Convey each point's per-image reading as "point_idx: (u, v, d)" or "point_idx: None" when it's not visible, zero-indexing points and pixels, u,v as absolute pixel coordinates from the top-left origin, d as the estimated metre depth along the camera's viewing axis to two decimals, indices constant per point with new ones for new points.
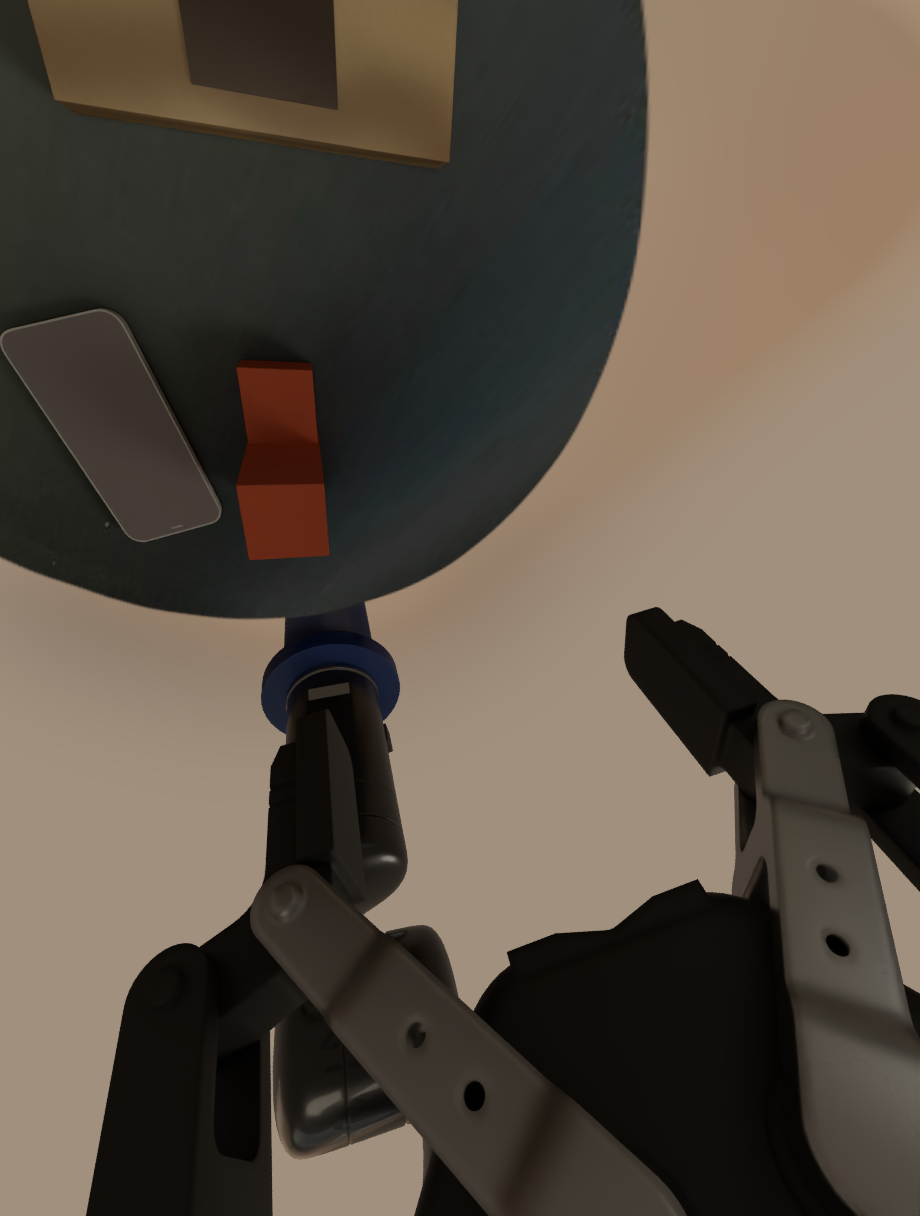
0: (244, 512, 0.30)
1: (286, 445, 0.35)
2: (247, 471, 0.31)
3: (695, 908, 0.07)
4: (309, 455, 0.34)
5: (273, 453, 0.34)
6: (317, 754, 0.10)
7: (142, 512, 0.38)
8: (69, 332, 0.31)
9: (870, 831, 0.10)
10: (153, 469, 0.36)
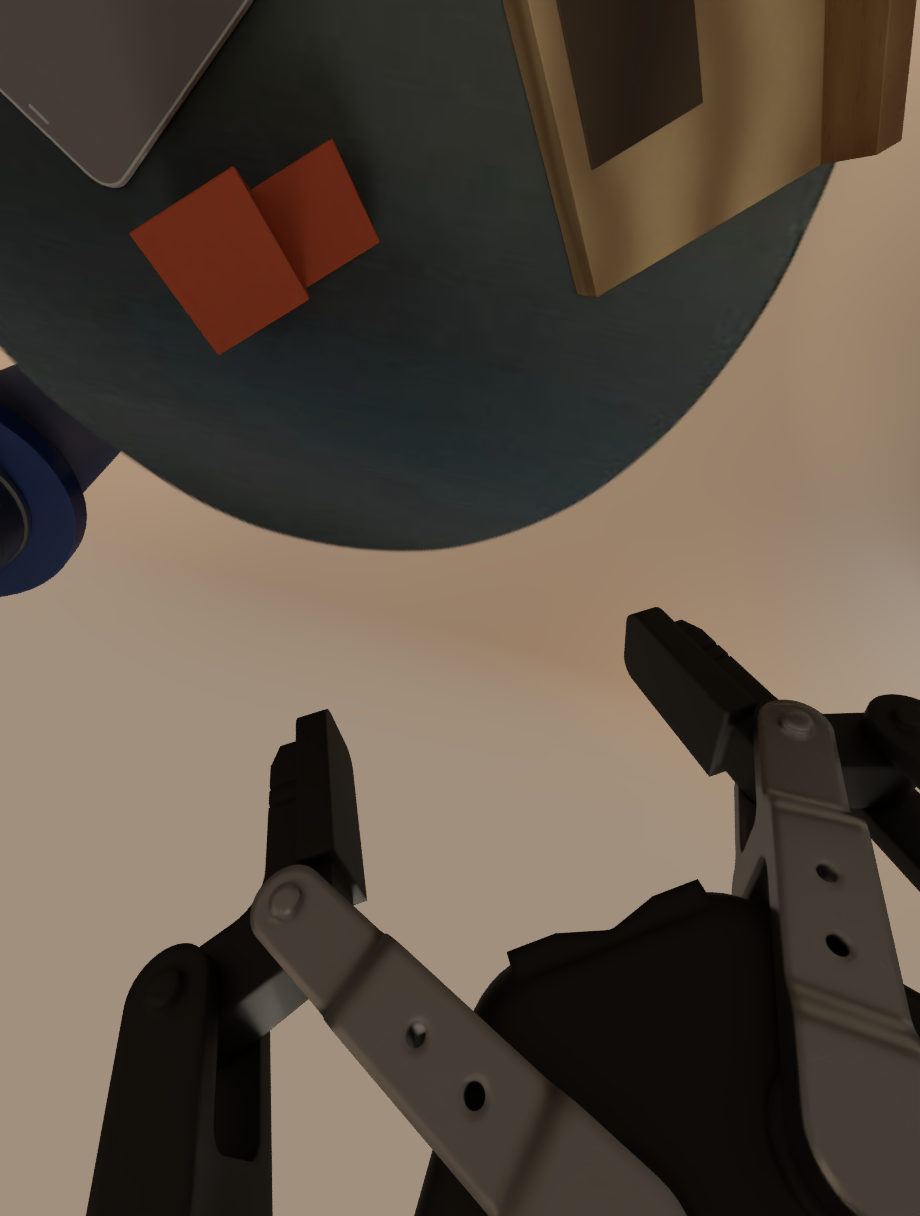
0: (200, 195, 0.20)
1: (281, 244, 0.27)
2: (246, 186, 0.21)
3: (695, 908, 0.07)
4: (299, 276, 0.26)
5: (271, 226, 0.25)
6: (317, 754, 0.10)
7: (19, 40, 0.22)
8: None
9: (870, 831, 0.10)
10: (107, 44, 0.23)
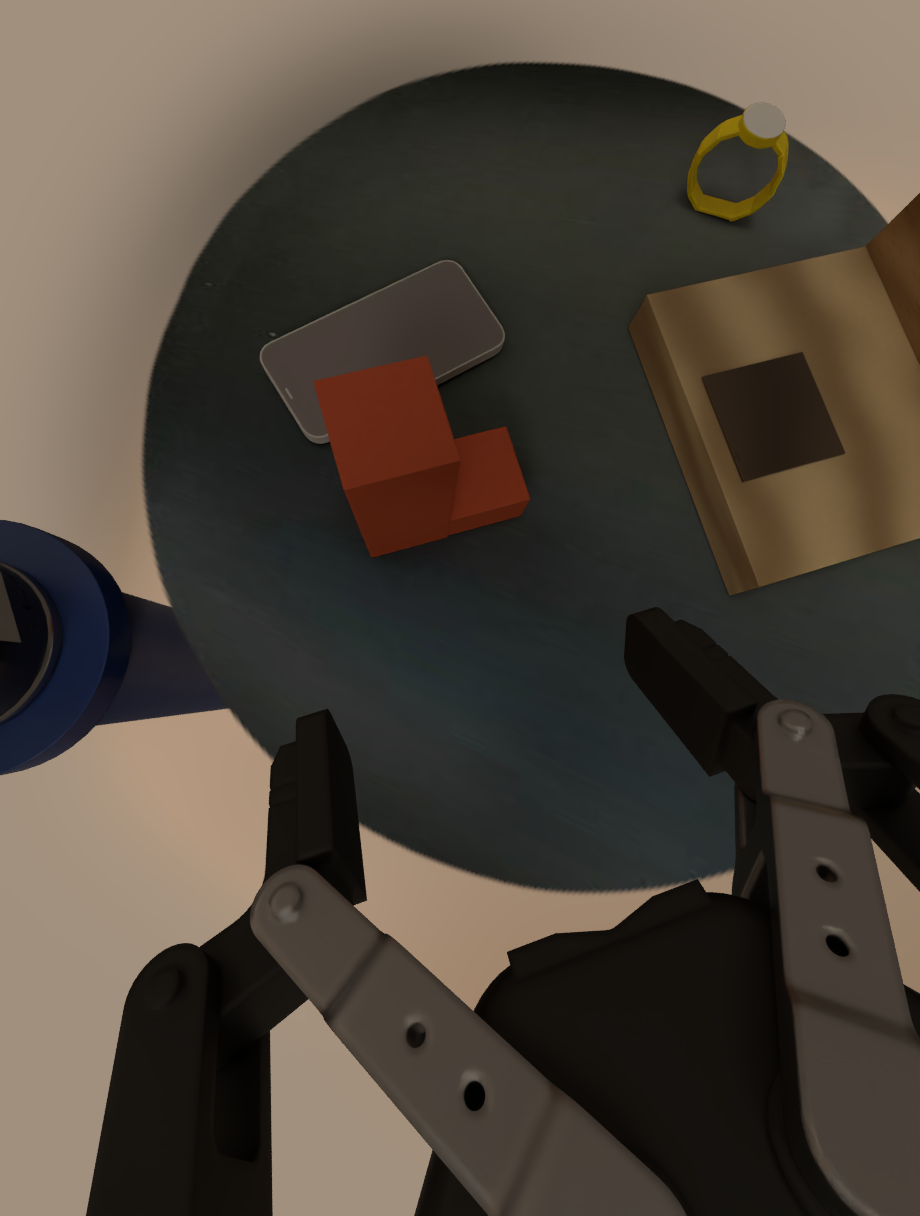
0: (390, 367, 0.21)
1: None
2: None
3: (695, 908, 0.07)
4: None
5: None
6: (317, 754, 0.10)
7: (301, 360, 0.31)
8: (475, 307, 0.33)
9: (870, 831, 0.10)
10: (358, 369, 0.32)
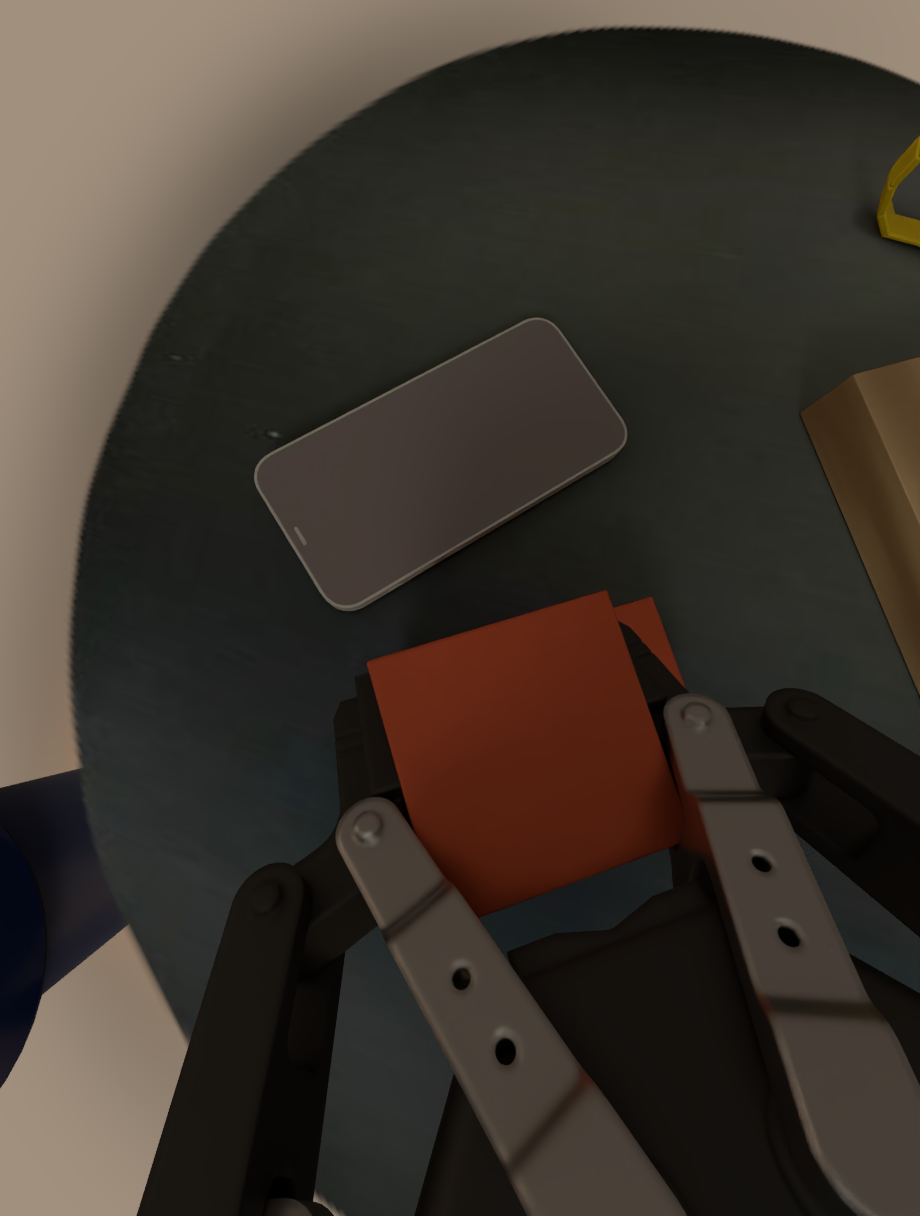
0: (531, 623, 0.10)
1: None
2: None
3: (695, 908, 0.07)
4: None
5: None
6: None
7: (319, 480, 0.20)
8: (581, 391, 0.22)
9: None
10: (407, 493, 0.20)
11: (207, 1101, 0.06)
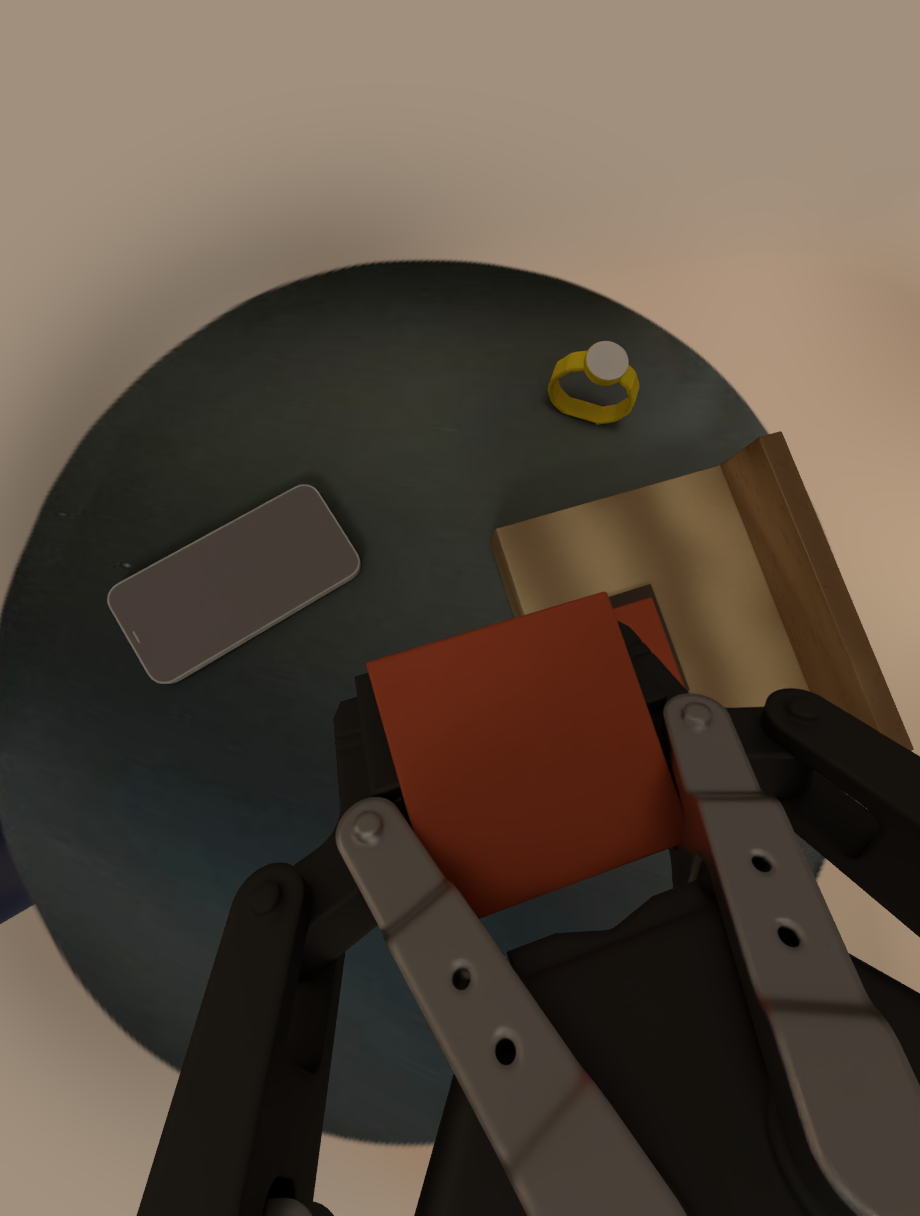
0: (530, 624, 0.10)
1: None
2: None
3: (695, 908, 0.07)
4: None
5: None
6: None
7: (150, 600, 0.31)
8: (330, 534, 0.33)
9: None
10: (208, 607, 0.32)
11: (207, 1101, 0.06)
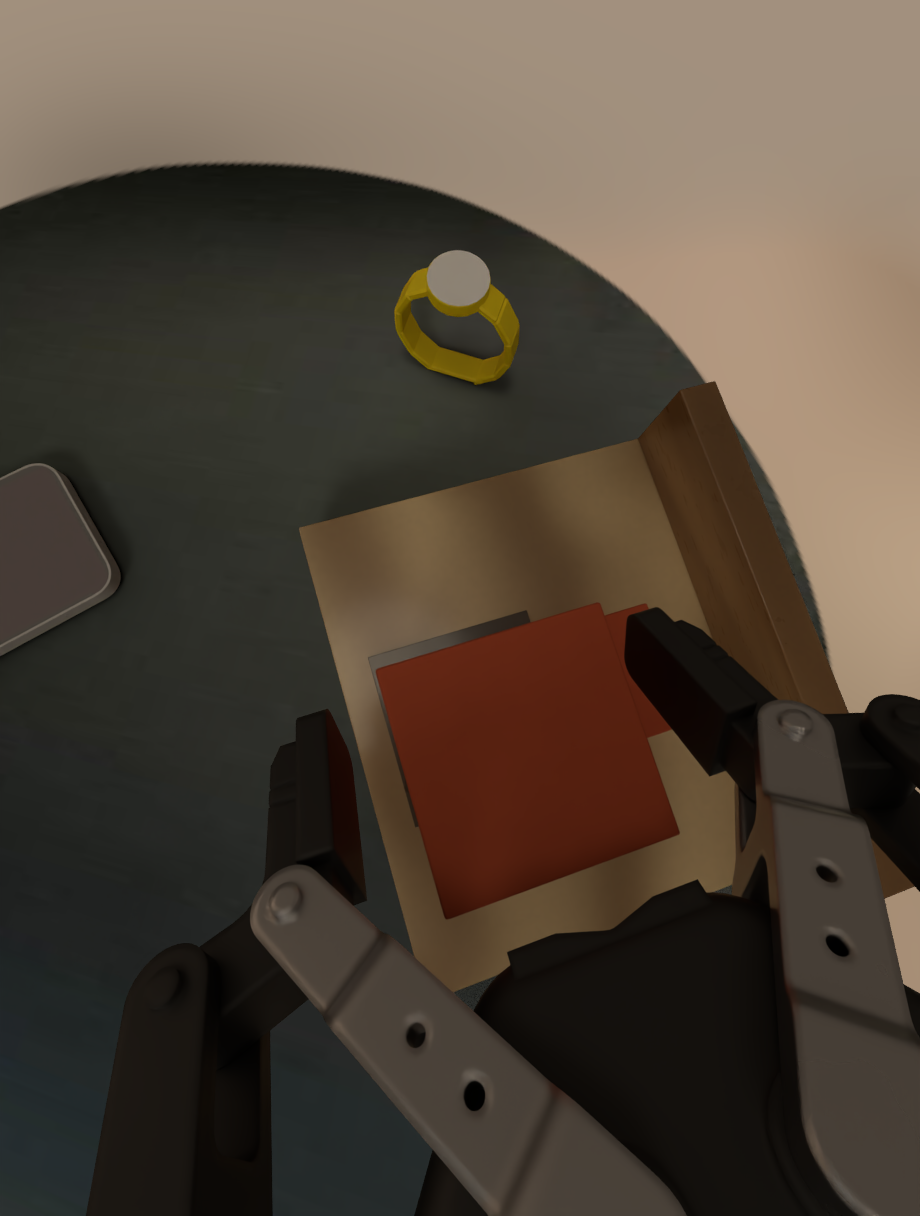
0: (529, 633, 0.10)
1: None
2: None
3: (695, 908, 0.07)
4: None
5: None
6: (317, 754, 0.10)
7: None
8: (70, 535, 0.23)
9: (870, 831, 0.10)
10: None
11: None
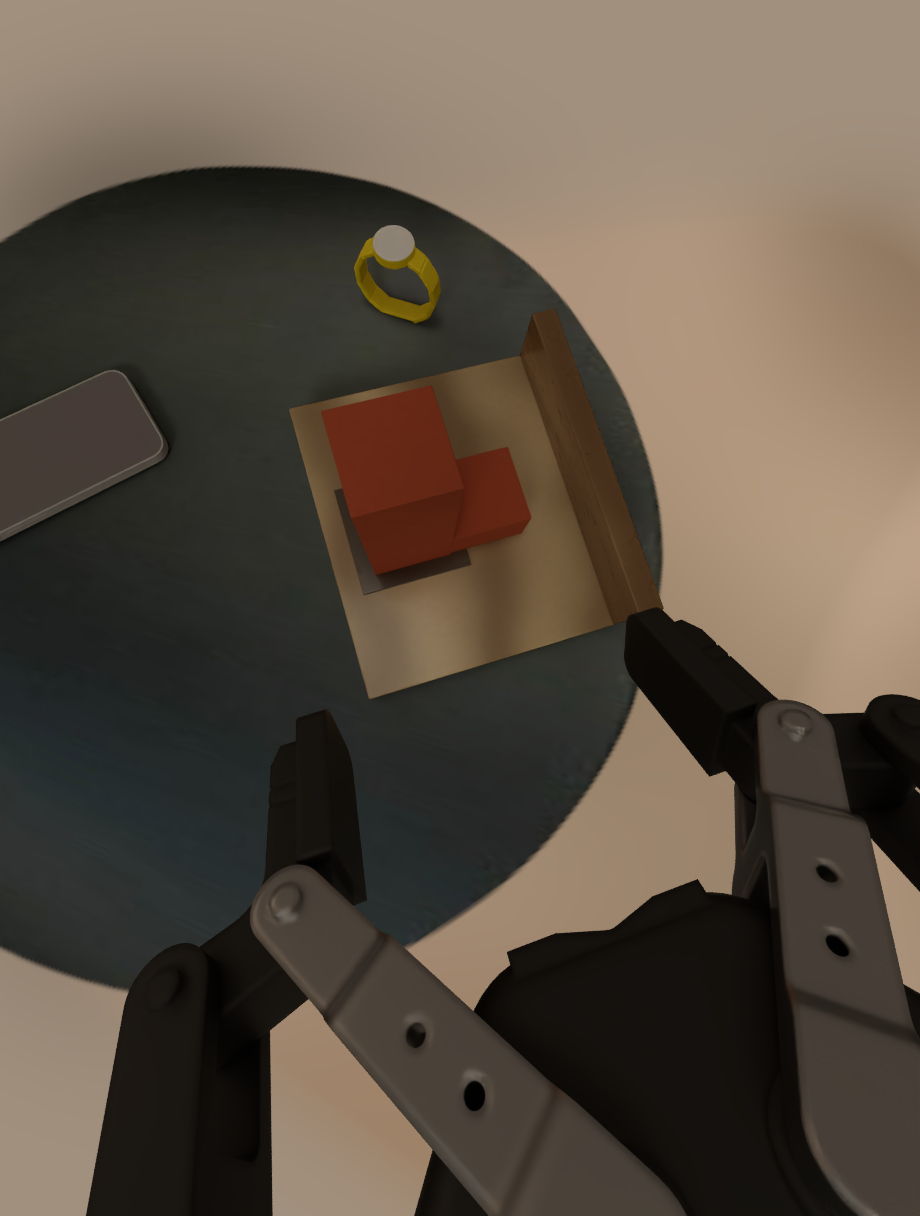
0: (395, 397, 0.21)
1: None
2: None
3: (695, 908, 0.07)
4: None
5: None
6: (317, 754, 0.10)
7: None
8: (135, 417, 0.34)
9: (870, 831, 0.10)
10: (7, 482, 0.33)
11: None
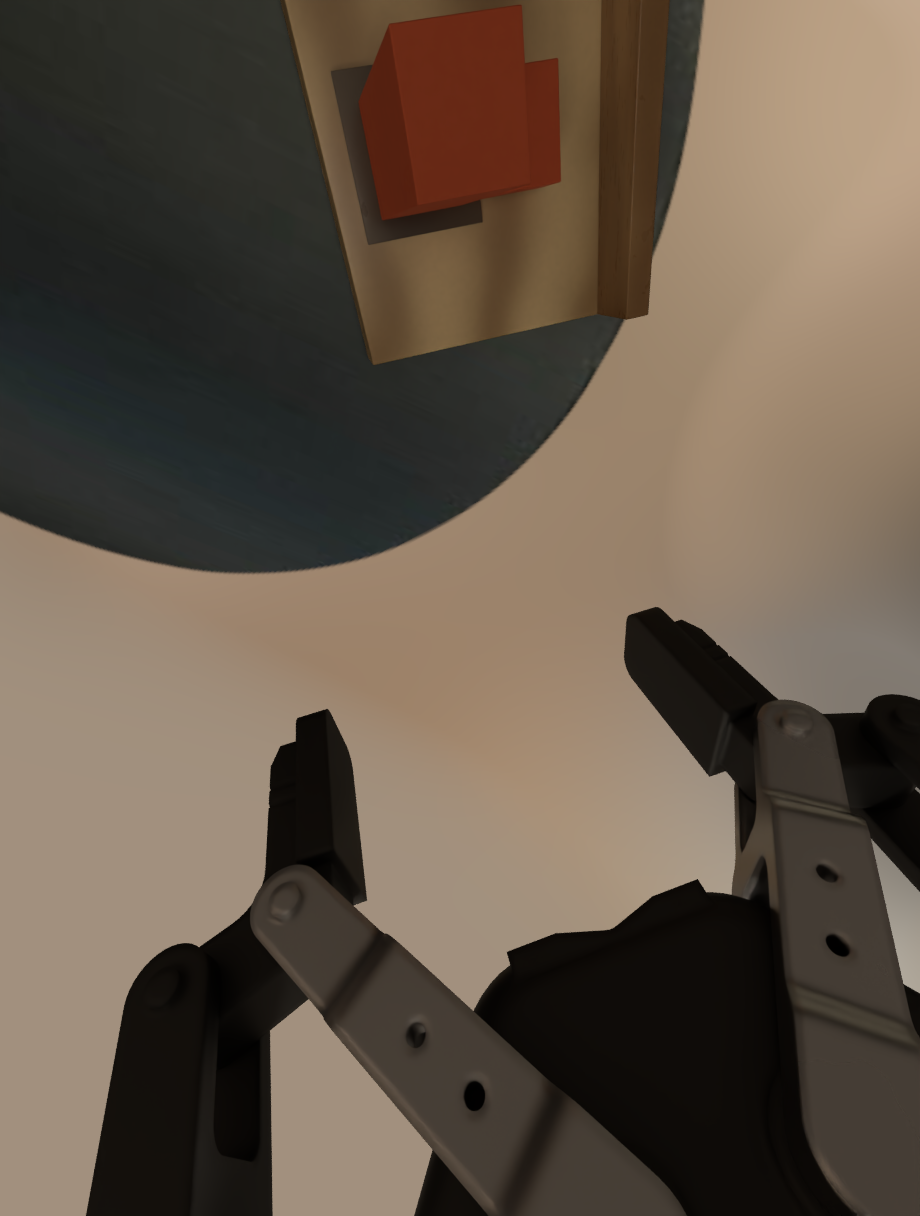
0: (478, 19, 0.18)
1: None
2: None
3: (695, 908, 0.07)
4: None
5: None
6: (317, 754, 0.10)
7: None
8: None
9: (870, 831, 0.10)
10: None
11: None
